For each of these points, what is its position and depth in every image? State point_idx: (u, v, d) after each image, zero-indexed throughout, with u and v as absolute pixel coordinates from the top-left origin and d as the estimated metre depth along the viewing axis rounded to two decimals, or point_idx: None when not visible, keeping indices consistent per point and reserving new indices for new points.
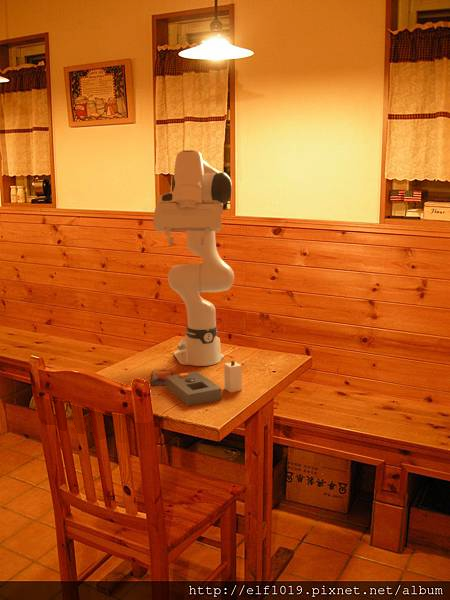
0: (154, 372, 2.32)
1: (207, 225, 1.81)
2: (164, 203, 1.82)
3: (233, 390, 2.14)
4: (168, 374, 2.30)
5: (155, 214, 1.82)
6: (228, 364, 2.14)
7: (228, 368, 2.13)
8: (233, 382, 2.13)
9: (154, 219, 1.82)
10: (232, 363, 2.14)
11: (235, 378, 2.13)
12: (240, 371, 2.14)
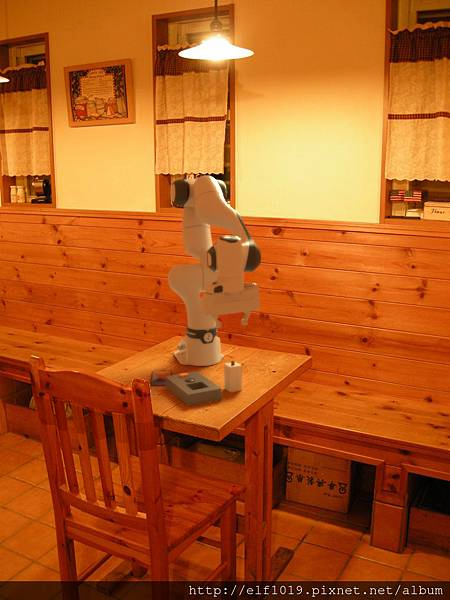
0: (154, 372, 2.32)
1: (249, 310, 2.08)
2: (215, 294, 2.01)
3: (233, 390, 2.14)
4: (168, 374, 2.30)
5: (207, 304, 2.01)
6: (228, 364, 2.14)
7: (228, 368, 2.13)
8: (233, 382, 2.13)
9: (206, 309, 2.01)
10: (232, 363, 2.14)
11: (235, 378, 2.13)
12: (240, 371, 2.14)
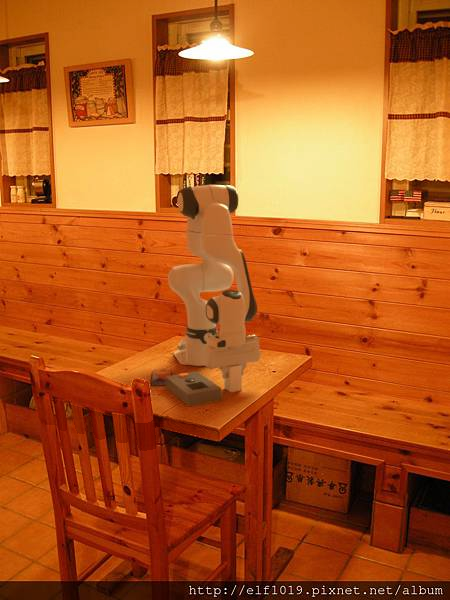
0: (154, 372, 2.32)
1: (250, 361, 2.15)
2: (218, 348, 2.07)
3: (233, 390, 2.14)
4: (168, 374, 2.30)
5: (211, 358, 2.07)
6: None
7: (228, 368, 2.13)
8: (233, 382, 2.13)
9: (210, 363, 2.08)
10: None
11: (235, 378, 2.13)
12: (240, 371, 2.14)
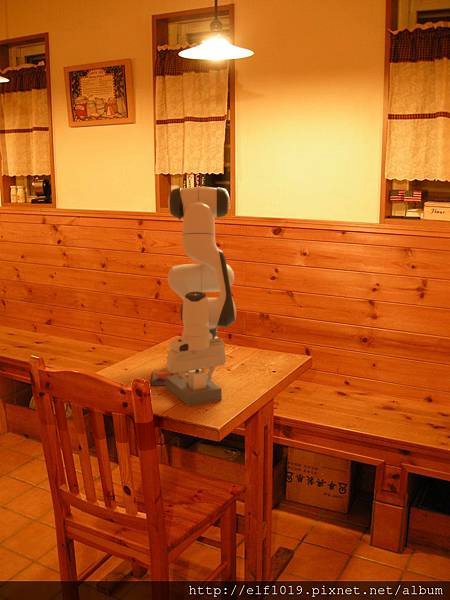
0: (154, 372, 2.32)
1: (215, 365, 2.08)
2: (181, 352, 2.00)
3: None
4: (168, 374, 2.30)
5: (173, 363, 2.00)
6: (192, 371, 2.07)
7: (192, 375, 2.06)
8: None
9: (172, 367, 2.01)
10: (196, 370, 2.07)
11: (199, 386, 2.06)
12: (204, 378, 2.07)
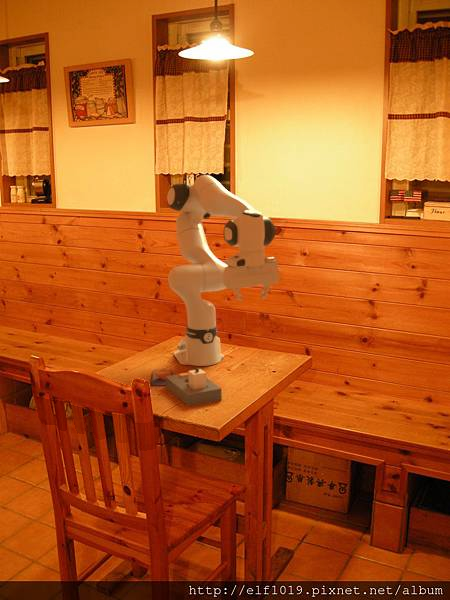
0: (154, 372, 2.32)
1: (269, 283, 2.14)
2: (237, 267, 2.06)
3: None
4: (168, 374, 2.30)
5: (230, 277, 2.06)
6: (192, 371, 2.07)
7: (192, 375, 2.06)
8: None
9: (229, 282, 2.06)
10: (196, 370, 2.07)
11: (199, 386, 2.06)
12: (204, 378, 2.07)
